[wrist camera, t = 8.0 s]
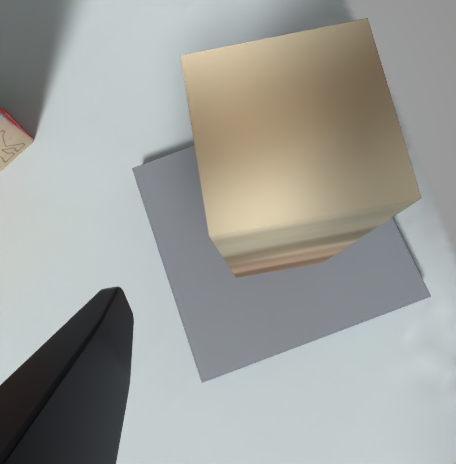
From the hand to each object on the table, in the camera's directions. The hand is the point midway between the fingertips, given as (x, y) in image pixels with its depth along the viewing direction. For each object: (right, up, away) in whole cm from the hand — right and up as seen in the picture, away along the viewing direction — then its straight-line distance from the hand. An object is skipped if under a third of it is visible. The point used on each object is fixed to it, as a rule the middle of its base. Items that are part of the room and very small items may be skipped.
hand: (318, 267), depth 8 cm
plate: (0, +1, +12) cm, 12 cm away
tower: (0, +1, +11) cm, 11 cm away
